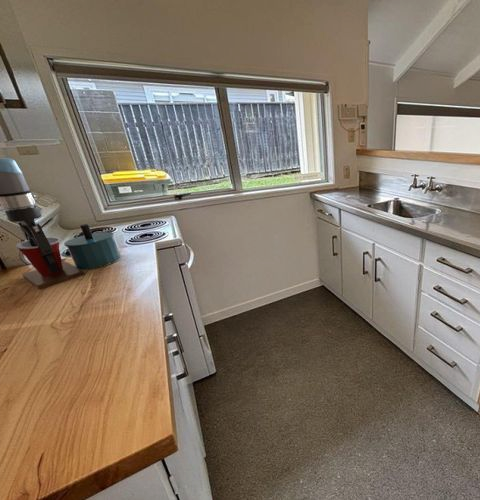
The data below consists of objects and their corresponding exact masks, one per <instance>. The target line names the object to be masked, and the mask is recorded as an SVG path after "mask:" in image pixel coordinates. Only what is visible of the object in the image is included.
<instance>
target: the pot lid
mask: <svg viewBox="0 0 480 500" xmlns="http://www.w3.org/2000/svg"><path fill="white" fill-rule="evenodd" d="M79 227H80V229H81V231H82V234H83V235H80V236H76V237H73V238H70V239H68V240H66V241H65V242H64V243H63V244H64V246H65V247H66V248H67V247H78V246H85V245H91V244H95V243H99V242H102V241H105V240H108V239H110V238H112V237H113V238H114V237H115V235H114V233H113V232H107V231H106V232H94V233H93V232H92V230H91V227H90V225H89V223H83V224H80V225H79Z"/></svg>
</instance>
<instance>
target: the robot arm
mask: <svg viewBox="0 0 480 500" xmlns="http://www.w3.org/2000/svg"><path fill="white" fill-rule="evenodd" d="M35 198H36V195H35V194H32V192H31V190H30V187H29V185H28V183H27V181H26V178H25V177H24V174H23V171H21V169H20V167H19V165H18V163H17V162H16V160H15V159H13V158H10V157H1V158H0V206H1V209H3V210H5V211H4V213H5V215H6V217H7V219H8V221H9V222H11V223H12V222H13V223H18V226H19V228H20V230H21V231H22V233H23V236H24V238H25V241H27V240H29V242H30V244H31V246H32V247H36V246H38V248H39V250H40V252H41V253H42V255H40V257H42V258H43V260H44V262H45V264H46V266H47V268H48V270H49V272H50V273H51V274H52V273H55V272H58V271H61V269H60V267H59V265H58V263H57V260H56V258H55V256H54V254H53V253H54V251H53V249H52V247H51V245H50V243H49V242H48V240H47V235H46V234H45V233H44V230H43V228H42V225H41V224H40V223H38V222H36V219H40V218H41V217H42V212H41V211H40V208H39V207H38V206H37V205H36V204H37V202H36V201H35ZM48 250H49V251H48ZM45 251H46V252H45Z"/></svg>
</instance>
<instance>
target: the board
mask: <svg viewBox="0 0 480 500" xmlns="http://www.w3.org/2000/svg"><path fill="white" fill-rule="evenodd" d="M62 266H63V270H62V271H61V272H59V273H56V274H52V275H47V276H42V275H41V274H40V273H39V272H38V271H37V270H36V269H34V270H32V271H28V272H25V273H21V275H22V277H23V278H24V279H25V280H26V281H27V282H29V283H30V284H32V285H33V286H35V288H37V289H38V290H42V289H46V288H49V287H52V286H54V285H58V284H60V283H64V282H67V281H69V280H73V279H76V278H79V277H82V276H85V275H86V274H85V270H81V269H79V268H77V267H76V265H73V264H71V263H69V262H67V261H62Z"/></svg>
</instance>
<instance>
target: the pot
mask: <svg viewBox="0 0 480 500" xmlns="http://www.w3.org/2000/svg"><path fill="white" fill-rule="evenodd" d="M66 248H67V250H68V252H69V254H70V256H71V258H72V259H71V260H72V261H73V263H74V266H75V267H77V268H79V269H81V270H83V271H85V270H93V268H94V269H97V268H96V267H99V268H101V267H100V266H103V267H105V266H104V265H106V266H108V265H107V264H109V263H112V262H114V261H116V260H118V259H119V258H120V257H121V254H120V251H119V248H118V245H117V243H116V240H115V237H114V236H113V237H112V238H110V239H108V240H105V241H102V242H99V243H95V244H91V245H85V246H78V247H67V246H66ZM120 259H121V258H120ZM120 259H119V260H120ZM119 260H118V261H119ZM116 262H117V261H116ZM114 263H115V262H114ZM112 264H113V263H112ZM109 265H110V264H109Z"/></svg>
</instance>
